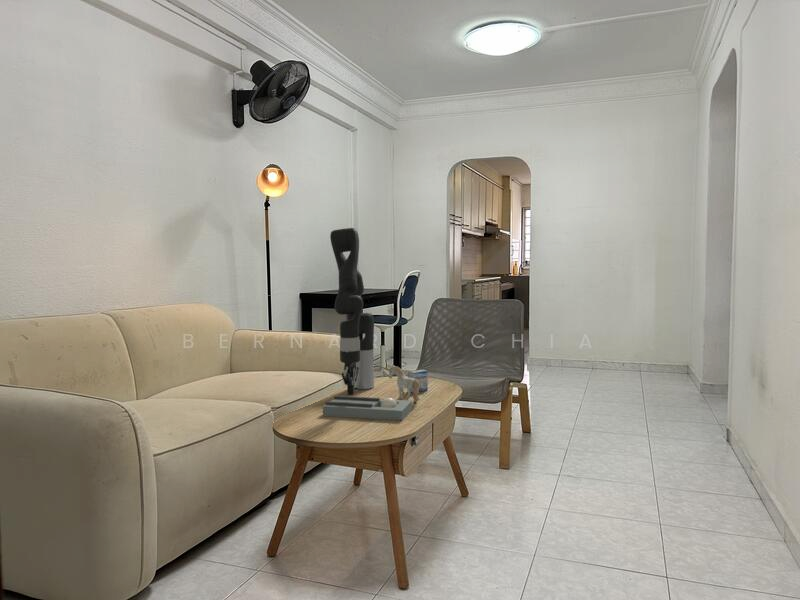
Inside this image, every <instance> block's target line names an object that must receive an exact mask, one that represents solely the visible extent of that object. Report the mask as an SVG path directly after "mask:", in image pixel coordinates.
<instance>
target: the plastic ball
mask: <svg viewBox="0 0 800 600" xmlns="http://www.w3.org/2000/svg"><path fill="white" fill-rule="evenodd" d="M395 400H396V399H394V398H392V397H385V398H384V400H383V401H382V402H381V407H389V408H394V407H395V406H396V405H397V403H396V401H395Z"/></svg>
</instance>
